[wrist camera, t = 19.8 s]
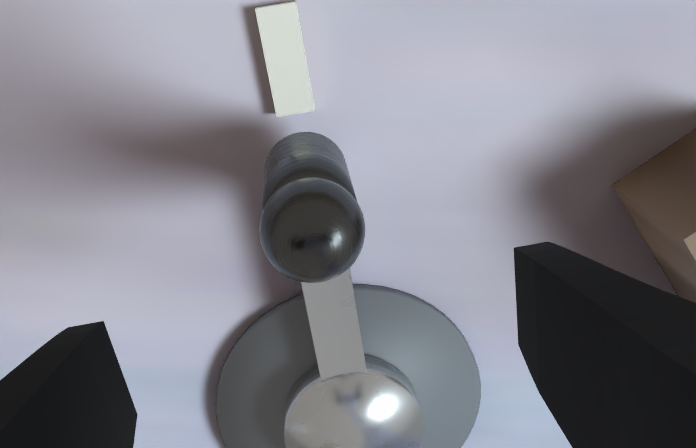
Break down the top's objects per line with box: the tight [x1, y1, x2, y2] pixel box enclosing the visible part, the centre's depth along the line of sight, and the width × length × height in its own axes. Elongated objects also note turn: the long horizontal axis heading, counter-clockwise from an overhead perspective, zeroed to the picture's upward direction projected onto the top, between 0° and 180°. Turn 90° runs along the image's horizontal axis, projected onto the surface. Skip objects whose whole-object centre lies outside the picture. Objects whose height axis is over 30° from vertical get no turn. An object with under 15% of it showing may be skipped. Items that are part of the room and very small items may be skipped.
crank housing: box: [216, 1, 481, 448], centre depth 23 cm, size 20×10×1 cm, turn 9°
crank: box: [259, 132, 424, 448], centre depth 20 cm, size 14×5×6 cm, turn 8°
